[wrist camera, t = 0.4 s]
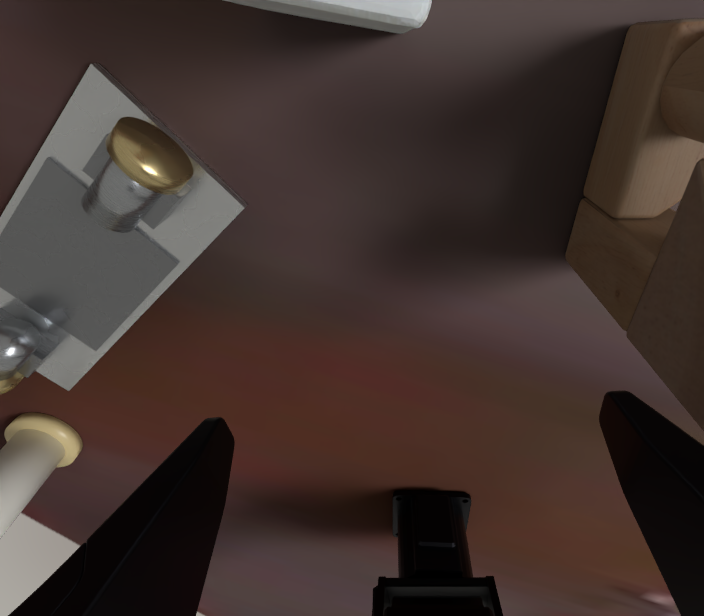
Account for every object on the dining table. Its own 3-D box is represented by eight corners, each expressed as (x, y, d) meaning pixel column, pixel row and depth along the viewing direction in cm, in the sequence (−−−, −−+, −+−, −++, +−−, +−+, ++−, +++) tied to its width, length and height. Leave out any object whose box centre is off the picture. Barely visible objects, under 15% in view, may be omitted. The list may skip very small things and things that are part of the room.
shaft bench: (98, 62, 19) (35, 67, 16) (247, 204, 22) (222, 233, 19) (-49, 309, 28) (-111, 346, 24) (73, 385, 31) (34, 428, 28)
